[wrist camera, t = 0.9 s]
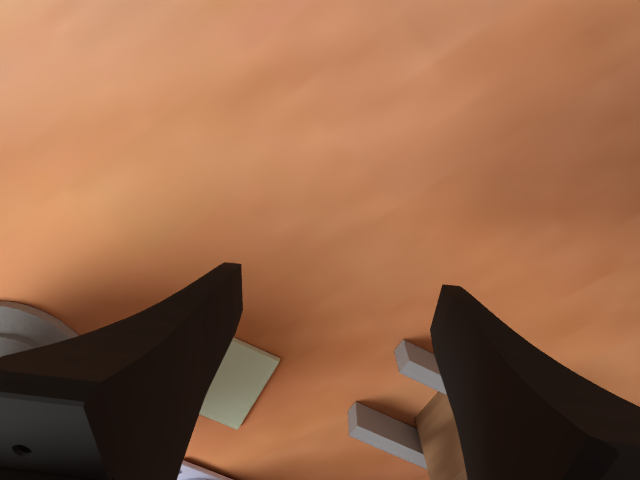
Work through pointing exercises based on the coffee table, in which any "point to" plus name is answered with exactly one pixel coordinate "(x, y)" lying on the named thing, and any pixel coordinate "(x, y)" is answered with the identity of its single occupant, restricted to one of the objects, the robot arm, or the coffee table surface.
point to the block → (440, 440)
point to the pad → (238, 383)
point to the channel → (389, 430)
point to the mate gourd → (29, 328)
